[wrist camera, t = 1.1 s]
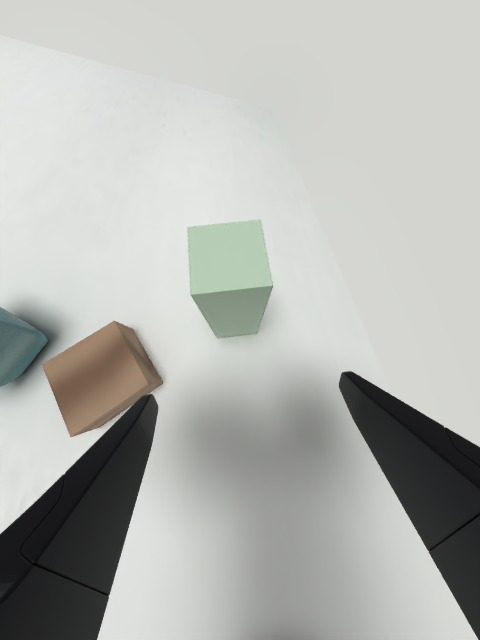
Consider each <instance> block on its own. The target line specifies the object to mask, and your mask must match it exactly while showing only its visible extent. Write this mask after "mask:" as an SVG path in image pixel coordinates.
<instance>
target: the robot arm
mask: <svg viewBox="0 0 480 640" xmlns="http://www.w3.org/2000/svg"><path fill="white" fill-rule="evenodd" d="M339 388H340V391H341V393H342V395H343V398H344V400H345V402H346V404H347V407H348V409H349V411H350V413H351V415H352V418H353V420H354V422H355V423H356V425H357V427H358V429H359V431H360V432H361V434H362V436H363V438H364V439H365V441H366V443H367V445H368V446H369V448H370V450H371V452H372V453H373V455H374V457H375V459H376V460H377V462H378V464H379V466H380V467H381V469H382V471H383V473H384V474H385V476H386V478H387V480H388V481H389V483H390V485H391V487H392V488H393V490H394V492H395V494H396V495H397V497H398V499H399V501H400V502H401V504H402V506H403V508H404V509H405V511H406V513H407V515H408V516H409V518H410V520H411V522H412V523H413V525H414V527H415V529H416V530H417V532H418V534H419V536H420V537H421V539H422V541H423V543H424V545H425V546H426V548H427V550H428V551H429V554H430V555H431V557H432V559H433V561H434V562H435V564H436V566H437V568H438V569H439V571H440V573H441V575H442V576H443V578H444V580H445V582H446V583H447V585H448V587H449V589H450V590H451V592H452V594H453V596H454V597H455V599H456V601H457V603H458V604H459V606H460V608H461V610H462V611H463V613H464V615H465V617H466V618H467V620H468V622H469V624H470V625H471V627H472V629H473V631H474V633H475V634H476V636H477V638H478V640H480V447H478V446H477V445H475V444H473V443H472V442H470V441H468V440H466V439H465V438H463V437H461V436H459V435H458V434H456V433H454V432H453V431H451V430H449V429H448V428H444V426H442V425H441V424H439V423H438V422H436V421H434V420H432V419H431V418H429V417H427V416H426V415H424V414H422V413H421V412H419V411H417V410H416V409H414V408H412V407H411V406H409V405H407V404H405V403H404V402H402V401H401V400H399V399H397V398H396V397H394V396H392V395H390V394H389V393H387V392H385V391H384V390H382V389H380V388H379V387H377V386H375V385H374V384H372V383H370V382H369V381H367V380H365V379H364V378H362V377H360V376H359V375H357V374H355V373H353V372H351V371H348V372H342V374H341V377H340V382H339ZM157 414H158V404H157V402H156V400H155V398H154V396H153V395H152V394H147V395H143V396H142V397H141V398H140V399H139V400H138V401H137V402H136V403H135V404H134V405H133V406H132V407H131V408H130V409H129V410H128V411H127V412H126V413H125V414H124V415H123V416H122V417H121V418H120V419H119V420H118V421H117V422H116V423H115V424H114V425H113V426H112V427H111V428H110V429H109V430H108V431H107V432H106V433H105V434H104V435H103V436H102V437H101V438H100V439H99V440H98V441H97V442H95V443H94V444H93V445H92V446H91V447H90V448H89V449H88V450H87V451H86V452H85V453H84V454H83V455H82V456H81V457H80V458H79V459H78V460H77V461H76V462H75V463H74V464H73V465H72V466H71V467H70V468H69V469H68V470H67V471H66V473H65V474H64V475H62V476H61V477H60V478H59V479H58V480H57V481H56V482H55V483H54V484H53V485H52V486H51V487H50V488H49V489H48V490H47V491H46V492H45V493H44V494H43V495H42V496H41V497H40V498H39V499H38V500H37V501H36V502H35V503H34V504H33V505H32V506H30V507H29V508H28V509H27V510H26V511H25V512H24V513H23V514H22V515H21V516H20V517H19V518H17V519H16V520H15V521H14V522H13V523H12V524H11V525H10V526H9V527H8V528H7V529H5V530H4V531H3V532H2V533H1V534H0V640H97V638H98V634H99V631H100V627H101V624H102V620H103V617H104V613H105V610H106V606H107V602H108V599H109V594H110V591H111V588H112V584H113V581H114V577H115V574H116V570H117V567H118V563H119V560H120V556H121V553H122V549H123V545H124V542H125V538H126V535H127V531H128V528H129V524H130V521H131V517H132V514H133V510H134V507H135V503H136V500H137V496H138V493H139V489H140V485H141V482H142V478H143V475H144V471H145V468H146V464H147V461H148V457H149V454H150V450H151V446H152V442H153V436H154V431H155V425H156V420H157Z"/></svg>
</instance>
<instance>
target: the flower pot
mask: <svg viewBox="0 0 480 640" xmlns="http://www.w3.org/2000/svg"><path fill="white" fill-rule="evenodd" d="M47 341H48V339H47V338H46V336H45V335H44V334H43V333H42V332H41V331H39V330H38V329H36V328H34V327H33V326H31V325H29V324H28V323H26V322H24V321H22V320H21V319H19V318H17V317H16V316H14V315H12V314H11V313H9V312H8V311H6V310H5V309H3V308H1V307H0V386H3V385H5V384H7V383H8V382H10V381H12V380H14V379H15V378H17V377H19V376H20V375H21V374H22V373H23V372H24V371H25V370H26V368H27V367H28V366H29V364H30V363H31V362H32V361H33V359H34V358H35V357H36V356H37V354H38V353H39V352H40V351H41V349H42V348H43V347H44V346H45V345H46V343H47Z"/></svg>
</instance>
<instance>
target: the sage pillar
mask: <svg viewBox="0 0 480 640" xmlns="http://www.w3.org/2000/svg"><path fill="white" fill-rule="evenodd" d="M187 231H188V252H189V273H190V294H191V296H192V298H193V300H194V301H195V303H196V304H197V306H198V308H199V309H200V311H201V313H202V314H203V316H204V317H205V319H206V321H207V322H208V324H209V326H210V327H211V329H212V330H213V332H214V334H215V335H216V337H217V338H223V337H231V336H240V335H248V334H256V333H257V332H258V329H259V326H260V323H261V320H262V317H263V314H264V311H265V308H266V305H267V302H268V299H269V296H270V293H271V291H272V288H273V282H272V276H271V271H270V266H269V261H268V255H267V250H266V245H265V239H264V234H263V229H262V223H261V220H252V221H242V222H233V223H223V224H213V225H204V226H194V227H187Z"/></svg>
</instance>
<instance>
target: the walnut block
mask: <svg viewBox="0 0 480 640" xmlns="http://www.w3.org/2000/svg"><path fill="white" fill-rule="evenodd" d="M42 366H43V368H44V371H45V373H46V376H47V378H48V381H49V384H50V386H51V389H52V391H53V394H54V396H55V399H56V401H57V404H58V406H59V409H60V412H61V414H62V417H63V419H64V422H65V424H66V427H67V429H68V432H69V434H70V437H73V436H76V435H79V434H82V433H84V432H87V431H90V430H93V429H96V428H99V427H101V426H102V425H104V424H105V423H106V422H108V421H109V420H111V419H112V418H114V417H115V416H117V415H118V414H119V413H121V412H122V411H124V410H125V409H127V408H128V407H129V406H131V405H132V404H134V403H135V402H137V401H138V400H139V399H140V398H141V397H142V396H143V395H147V394H148V393H150V392H151V391H153V390H154V389H155V388H157V387H158V386H160V385H161V384H163V382H162V380H161V378H160V376H159V375H158V373H157V371H156V369H155V367H154V366H153V364H152V362H151V360H150V359H149V357H148V355H147V353H146V351H145V350H144V348H143V346H142V344H141V343H140V341H139V339H138V337H137V335H136V334H135V332H134V330H133V329H131V328H129V327H127V326H125V325H123V324H120V323H118V322H116V321H113V322H111V323H110V324H108V325H107V326H105V327H103V328H102V329H100V330H98V331H97V332H95V333H93V334H92V335H90V336H88V337H87V338H85V339H83V340H82V341H80V342H78V343H77V344H75V345H73V346H72V347H70V348H69V349H67V350H65V351H64V352H62V353H60V354H59V355H57V356H55V357H54V358H52V359H50V360H49V361H47V362H45V363H44V364H42Z"/></svg>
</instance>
